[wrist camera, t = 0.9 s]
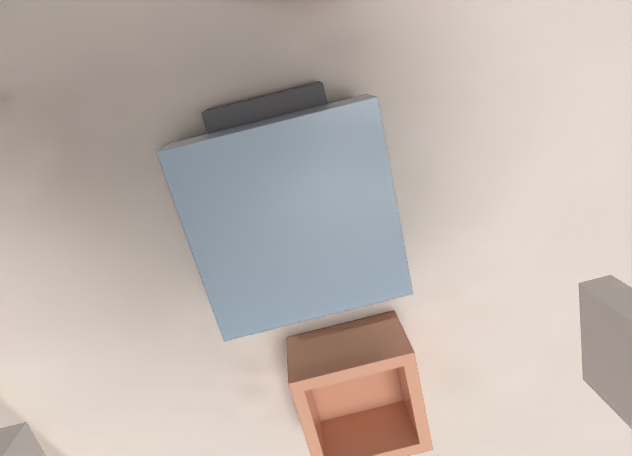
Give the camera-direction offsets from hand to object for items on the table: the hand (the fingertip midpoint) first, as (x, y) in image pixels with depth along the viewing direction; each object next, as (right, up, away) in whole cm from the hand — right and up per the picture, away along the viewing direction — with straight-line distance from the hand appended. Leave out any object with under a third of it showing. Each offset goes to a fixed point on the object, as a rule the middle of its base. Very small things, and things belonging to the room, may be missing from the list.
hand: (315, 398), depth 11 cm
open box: (+2, -5, +19) cm, 20 cm away
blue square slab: (-1, +5, +13) cm, 14 cm away
